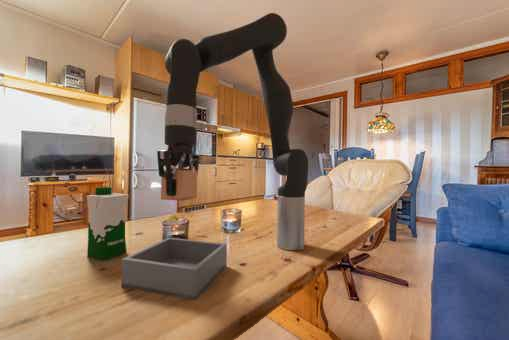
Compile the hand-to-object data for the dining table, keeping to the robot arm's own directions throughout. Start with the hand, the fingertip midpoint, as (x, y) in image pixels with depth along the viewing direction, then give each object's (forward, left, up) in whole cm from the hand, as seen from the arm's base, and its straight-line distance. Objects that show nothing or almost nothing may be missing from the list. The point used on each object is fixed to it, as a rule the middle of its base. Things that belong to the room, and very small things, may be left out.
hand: (179, 194), depth 53 cm
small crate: (0, 0, -1) cm, 1 cm away
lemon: (+20, -26, -20) cm, 39 cm away
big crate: (-1, +1, -20) cm, 20 cm away
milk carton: (+27, -4, -20) cm, 34 cm away
